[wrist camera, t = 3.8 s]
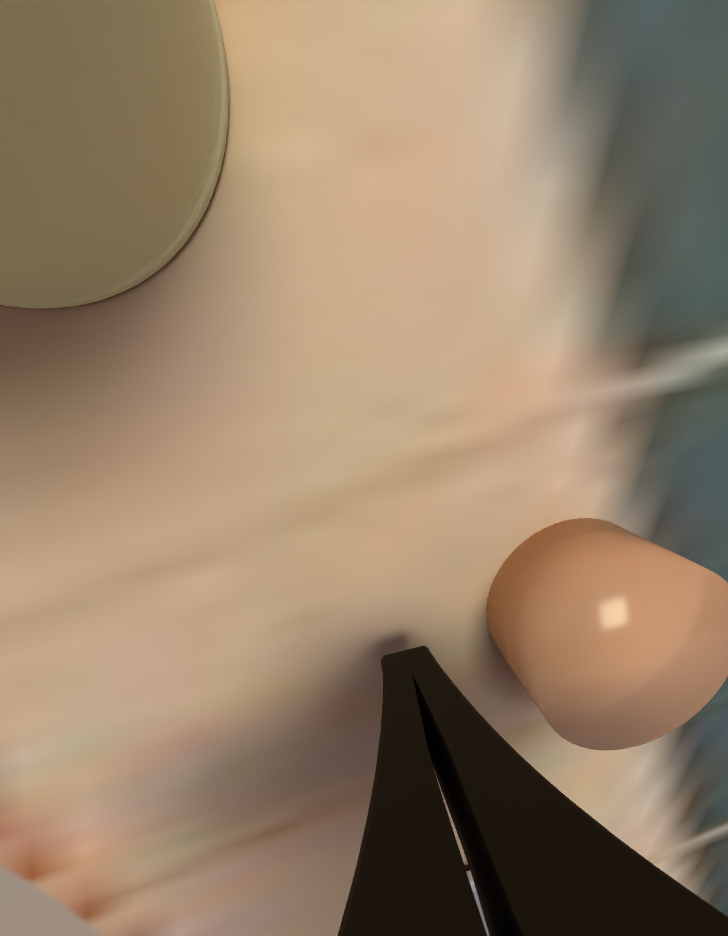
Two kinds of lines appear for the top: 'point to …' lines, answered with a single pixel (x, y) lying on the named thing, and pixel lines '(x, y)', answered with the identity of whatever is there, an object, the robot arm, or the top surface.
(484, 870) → the robot arm
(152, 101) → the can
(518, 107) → the top surface
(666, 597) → the tan rounded pebble
